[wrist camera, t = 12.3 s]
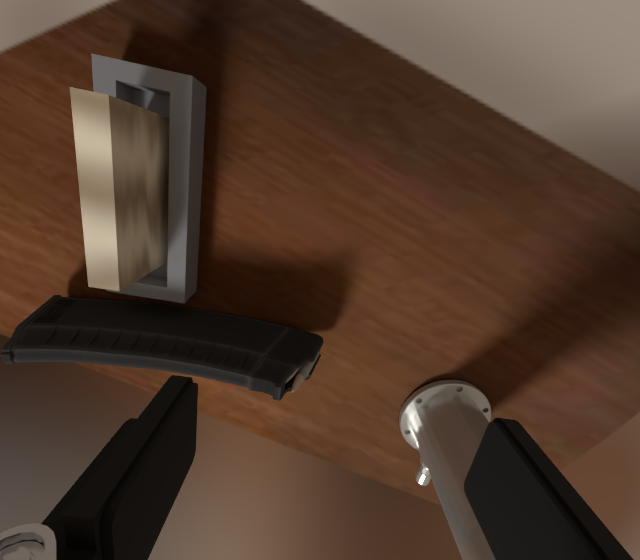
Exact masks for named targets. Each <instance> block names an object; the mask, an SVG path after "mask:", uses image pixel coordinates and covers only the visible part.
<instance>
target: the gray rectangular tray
mask: <svg viewBox="0 0 640 560" xmlns="http://www.w3.org/2000/svg"><path fill="white" fill-rule="evenodd" d="M92 71H93V87H94V92H97V93H102V94H107V95H110V96H113V97H115V98H118V99H121V100H123V101H126V102H128V103H131V104H134V105H136V106H139V107H141V108H144V109H147V110H149V111H152V112H155V113H157V114H160V115H162V116H165V117H168V118H170V125H169V196H168V262H167V263H165V264H163V265H162V266H160V267H159V268H157V269H155V270H154V271H152V272H150V273H149V274H147V275H145V276H144V277H142V278H140V279H139V280H137V281H136V282H134V283H132V284H131V285H129V286H127V287H126V288H124V289H122V290H121V291H114V290H107V289H106V291H108V292H114V293H121V294H127V295H133V296H140V297H146V298H152V299H159V300H165V301H172V302H178V303H185V302H186V301H187V300H188V299H189V298H190V297H191V296H192V295H193V294H194V293H195V292H196V291H197V272H198V253H199V233H200V213H201V193H202V173H203V154H204V134H205V114H206V94H207V87H206V86H204V85H203V84H202V83H201V82H199V81H198V80H197V79H196V78H194V77H193V76H191V75H186V74H182V73H177V72H173V71H168V70H163V69H159V68H154V67H150V66H145V65H141V64H136V63H132V62H127V61H123V60H118V59H114V58H109V57H105V56H100V55H96V54H92Z"/></svg>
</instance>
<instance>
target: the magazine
mask: <svg viewBox="0 0 640 560" xmlns="http://www.w3.org/2000/svg"><path fill="white" fill-rule="evenodd" d="M322 345H323V338H322V337H321V336H319V335H317V334H314V333H310V332H306V331H303V330H299V329H295V328H292V327H287V326H282V325H278V324H274V323H269V322H264V321H260V320H255V319H250V318H246V317H241V316H236V315H231V314H225V313H220V312H214V311H207V310H201V309H193V308H186V307H178V306H170V305H160V304H150V303H139V302H128V301H114V300H100V299H86V298H72V297H61V296H60V295H54V296H53V297H52V298H50V299H49V300H48V301H47V302H45V303H44V304H43V305H42V306H41V307H39V308H38V309H37V310H36V311H35V312H33V313H32V314H31V315H30V316H29V317H27V318H26V319H25V320H24V321H23V322H21V323H20V324H19V325H18V326H17V327H16V329H15V331H14V333H13V335H12V337H11V339H10V340H9V341H8V342H7V343H6V344H5V345H4V346H3V348H2V352H3V353H1V354H0V355H1V359H2V361H5V363H6V364H13V363H16V362H79V363H92V364H102V365H113V366H125V367H136V368H147V369H154V370H162V371H169V372H175V373H181V374H187V375H193V376H199V377H204V378H208V379H213V380H217V381H222V382H226V383H230V384H234V385H238V386H242V387H246V388H249V390H253V391H259V392H264V393H267V394H270V395H272V396H273V399H275V400H279V401H280V400H281V399H282V397H283V396H284V394H285V393H286V392H288V391H291V392H292V393H293V392H295V391H296V390H297V389H298V388H299V387H300V385H301V384H302V383H303V381H304V380H307V379H309V378H310V376H311V374H312V372H313V370H314V368H315V366H316V364H317V362H318V360H319V358H320V356H321V355H320V349H321V347H322Z"/></svg>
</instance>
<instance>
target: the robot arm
mask: <svg viewBox="0 0 640 560" xmlns="http://www.w3.org/2000/svg"><path fill="white" fill-rule="evenodd" d="M197 397H198V385H197V383H193V380H192V378H191V377H183V376H175V375H172V376H171V377H170V378H169V379H168V380H167V382H166V383H165V384H164V385H163V387H162V388H161V389H160V391H159V392H158V393H157V394H156V396H155V397H154V398H153V399H152V401H151V402H150V403H149V405H148V406H147V407H146V408H145V410H144V411H143V412H142V414H141V415H140V416H139V418H138V419H133V418H131V419H129V420H127V421H126V422H125V423H124V424H123V425H122V426H121V428H120V429H119V430H118V431H117V433H116V434H115V435H114V436H113V437H112V438H111V440H110V441H109V442H108V443H107V445H106V446H105V447H104V448H103V449H102V451H101V452H100V453H99V455H97V457H96V458H95V459H94V460H93V462H92V463H91V464H90V465H89V466H88V468H87V469H86V470H85V471H84V473H83V474H82V475H81V476H80V477H79V479H78V480H77V481H76V482H75V484H74V485H73V486H72V487H71V489H70V490H69V491H68V492H67V493H66V494H65V496H64V497H63V498H62V499H61V500H60V502H59V503H58V504H57V505H56V507H55V508H54V509H53V510H52V511H51V513H50V514H49V515H48V516H47V518H46V519H45V520H44V521H43V522H42V524H37V523H34V524H26V525H20V526H18V527H15V528H12V529H9V530H6V531H4V532H2V533H0V560H148V558H149V555H150V553H151V551H152V549H153V547H154V544H155V542H156V540H157V538H158V536H159V534H160V531H161V529H162V527H163V525H164V523H165V521H166V518H167V516H168V514H169V512H170V509H171V508H172V505H173V503H174V501H175V499H176V497H177V495H178V492H179V490H180V488H181V486H182V484H183V482H184V479H185V477H186V475H187V473H188V471H189V468H190V466H191V464H192V462H193V459H194V455H195V451H196V427H197ZM490 420H491V406H490V404H489V401H488V399H487V398H486V397H485V395H484V394H483V393H482V392H481V391H480V390H479V389H478V388H477V387H476V386H474V385H472V384H470V383H468V382H465V381H460V380H441V381H436V382H433V383H430V384H428V385H425V386H423V387H421V388H420V389H418V390H417V391H415V392H414V393H413V394H412V395H411V396H410V397H409V398H408V399H407V400H406V402H405V403H404V404H403V407H402V409H401V411H400V415H399V425H400V429H401V432H402V434H403V437H404V438H405V440H406V441H407V442H408V443H409V444H410V445H411V446H412V447H414V448H415V449H417V450H419V453H420V455H421V457H420V463H421V464H420V465H419V467H418V469H417V472H416V474H415V478H416V480H417V482H418V483H419V484H421V485H424V486H426V485H428V483H429V481H430V478H431V479H432V481H433V484H434V486H435V489H436V491H437V494H438V497H439V499H440V502H441V504H442V507H443V509H444V512H445V514H446V517H447V520H448V522H449V525H450V528H451V530H452V533H453V535H454V538H455V540H456V543H457V546H458V548H459V551H460V553H461V556H462V559H463V560H633V559H632V558H631V556H630V555H629V554H628V553H627V552H626V550H625V549H624V548H623V547H622V545H621V544H620V543H619V542H618V541H617V540H616V538H615V537H614V536H613V535H612V533H611V532H610V531H609V530H608V529H607V527H606V526H605V525H604V524H603V523H602V521H601V520H600V519H599V518H598V517H597V516H596V514H595V513H594V512H593V511H592V509H591V508H590V507H589V506H588V505H587V504H586V502H585V501H584V500H583V499H582V497H581V496H580V495H579V494H578V493H577V491H576V490H575V489H574V488H573V487H572V486H571V484H570V483H569V482H568V481H567V480H566V478H565V477H564V476H563V475H562V474H561V472H560V471H559V470H558V469H557V467H556V466H555V465H554V464H553V463H552V461H551V460H550V459H549V458H548V457H547V456H546V454H545V453H544V452H543V451H542V450H541V448H540V447H539V446H538V445H537V444H536V442H535V441H534V440H533V439H532V438H531V436H530V435H529V434H528V433H527V432H526V430H525V429H524V428H523V427H522V426H521V424H520V423H519V422H518V421H515V420H510V419H503V418H495V419H494V420H493V422H490Z"/></svg>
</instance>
